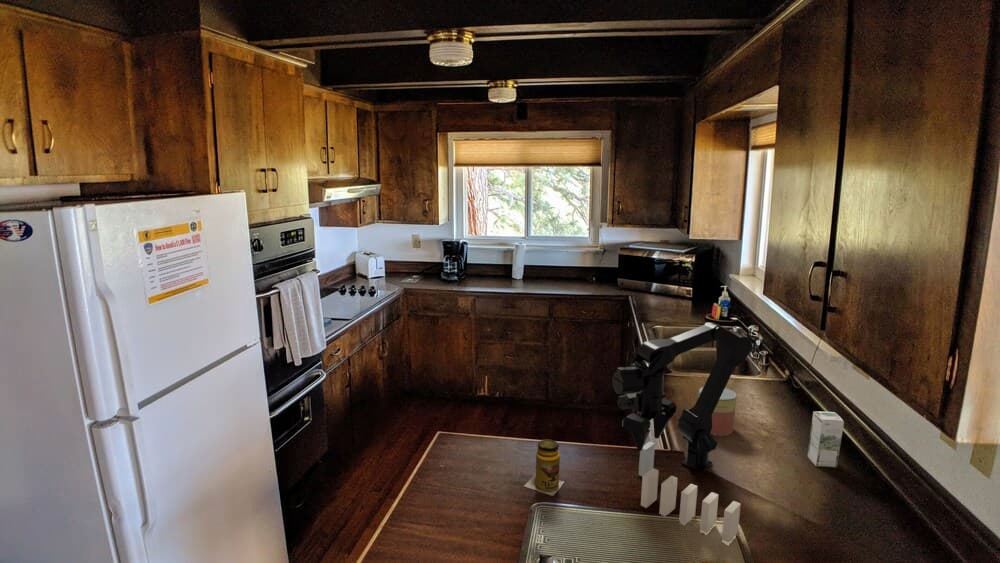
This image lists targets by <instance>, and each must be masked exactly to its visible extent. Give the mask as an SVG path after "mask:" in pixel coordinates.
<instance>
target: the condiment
mask: <svg viewBox="0 0 1000 563" xmlns="http://www.w3.org/2000/svg"><path fill="white" fill-rule="evenodd" d="M559 447H560V446H559V444H558V442H557V441H556V440H554V439H550V438H548V439H546V438H545V439H542V440H540V441H539V442H538V443H537V451H536V455H535V456H536V459H535V473H534V474H533V476H532V477H531V478H530V479H529V480H528V481H527V482H526V483H525V484H524V485H523V487H525V488H527V489H530V490H535V491H537V492H539V493H543V494H546V495H549V496H551V497H552V496H553V497H554V496H555V494H556V493H557V492H558V491H559V490H560V489H561V487H562V486H563V484H564V483H565V481H564V480H560V459H561V458H560V457H561V456H560V452H559Z"/></svg>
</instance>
